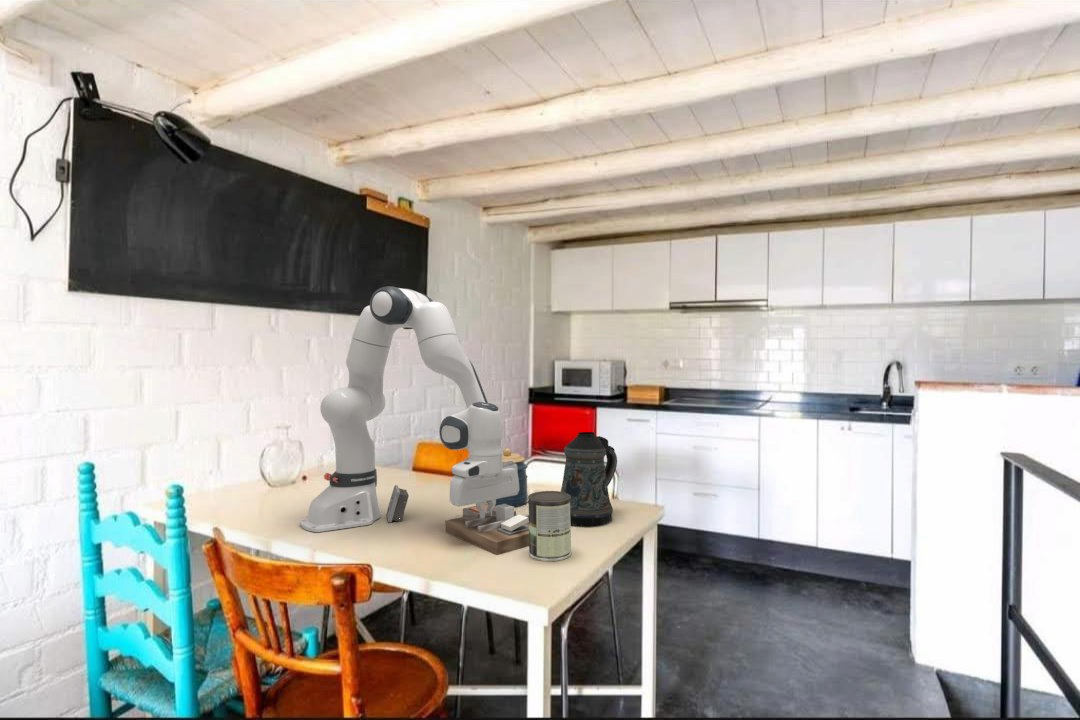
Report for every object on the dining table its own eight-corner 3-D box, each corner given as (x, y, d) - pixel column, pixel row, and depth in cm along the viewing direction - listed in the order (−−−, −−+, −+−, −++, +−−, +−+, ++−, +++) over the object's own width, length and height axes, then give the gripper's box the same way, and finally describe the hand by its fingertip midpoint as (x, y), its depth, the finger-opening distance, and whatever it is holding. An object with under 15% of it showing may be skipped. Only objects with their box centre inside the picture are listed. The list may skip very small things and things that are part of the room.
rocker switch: (510, 531, 146) (510, 526, 146) (501, 527, 149) (500, 523, 149) (529, 521, 149) (528, 517, 149) (519, 518, 153) (518, 514, 152)
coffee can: (519, 555, 139) (519, 496, 139) (546, 544, 147) (546, 488, 147) (553, 565, 133) (553, 503, 133) (579, 552, 141) (579, 494, 141)
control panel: (496, 554, 140) (496, 532, 140) (445, 531, 158) (445, 511, 158) (553, 538, 151) (552, 517, 151) (498, 518, 170) (498, 500, 170)
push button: (479, 520, 157) (479, 511, 157) (469, 516, 161) (469, 507, 161) (494, 517, 160) (494, 508, 160) (484, 513, 164) (484, 504, 164)
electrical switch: (386, 515, 175) (388, 484, 175) (403, 515, 177) (406, 484, 177) (388, 524, 166) (391, 491, 166) (406, 523, 168) (409, 491, 168)
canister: (502, 495, 197) (502, 444, 197) (535, 500, 190) (534, 446, 190) (479, 504, 186) (478, 449, 186) (513, 510, 179) (512, 453, 179)
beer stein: (546, 523, 165) (545, 435, 165) (573, 506, 183) (572, 427, 182) (601, 530, 158) (600, 438, 158) (623, 512, 176) (623, 429, 175)
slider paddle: (505, 523, 154) (504, 508, 154) (496, 520, 157) (496, 505, 157) (514, 521, 156) (513, 506, 156) (505, 518, 159) (504, 503, 159)
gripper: (509, 458, 162) (510, 507, 162) (446, 468, 148) (446, 522, 148) (524, 461, 157) (524, 512, 157) (459, 471, 143) (459, 527, 144)
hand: (486, 517), depth 153 cm, fingers closed
